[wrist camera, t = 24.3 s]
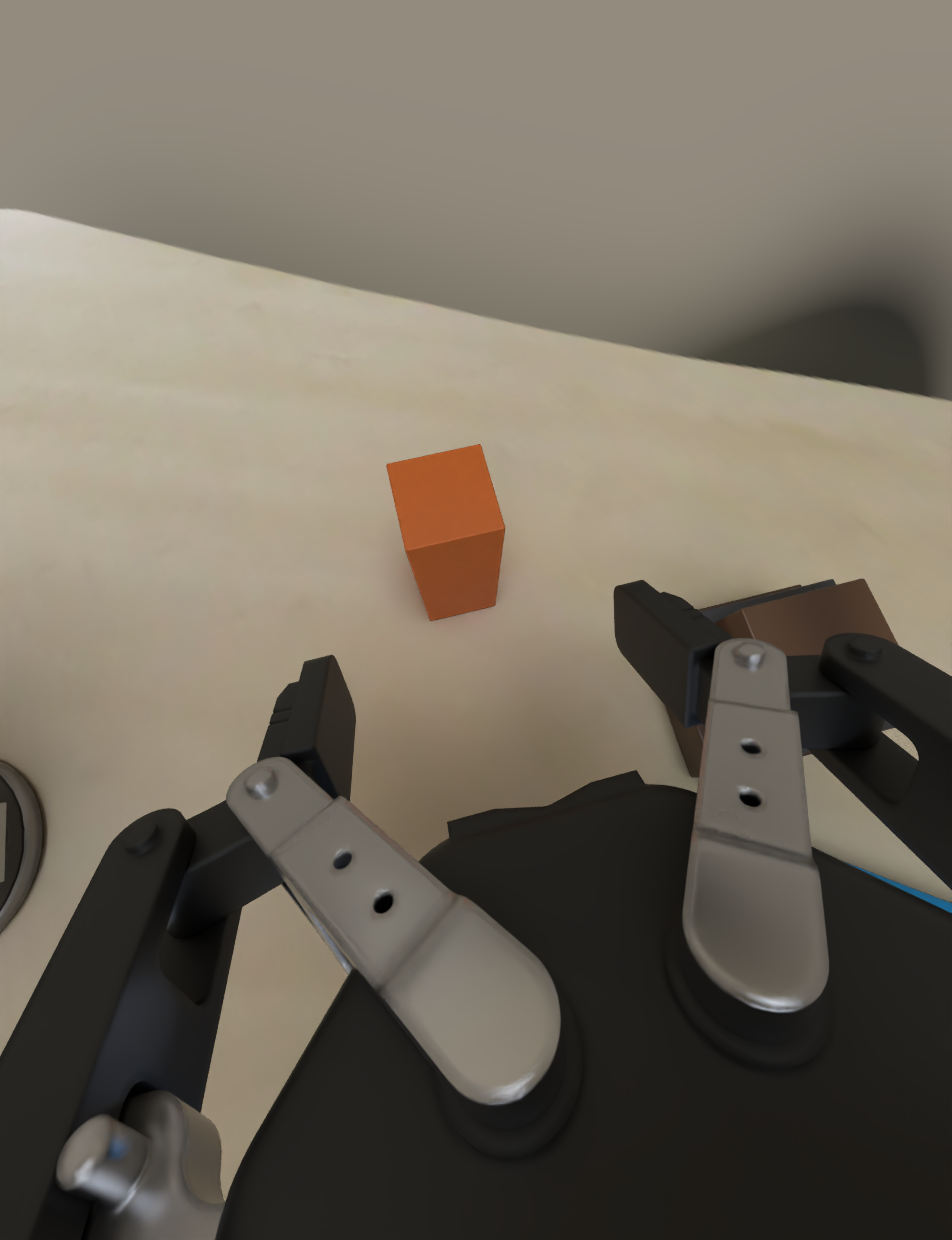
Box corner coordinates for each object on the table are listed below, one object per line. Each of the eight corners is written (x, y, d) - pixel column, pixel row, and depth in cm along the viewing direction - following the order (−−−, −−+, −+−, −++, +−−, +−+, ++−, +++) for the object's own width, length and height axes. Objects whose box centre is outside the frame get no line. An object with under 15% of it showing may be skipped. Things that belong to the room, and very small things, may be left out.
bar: (430, 621, 25) (405, 551, 16) (416, 560, 26) (385, 463, 17) (495, 605, 25) (505, 528, 16) (479, 546, 26) (480, 443, 17)
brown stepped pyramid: (690, 777, 23) (782, 788, 16) (638, 632, 25) (700, 588, 18) (832, 738, 23) (979, 733, 16) (770, 600, 25) (878, 544, 18)
